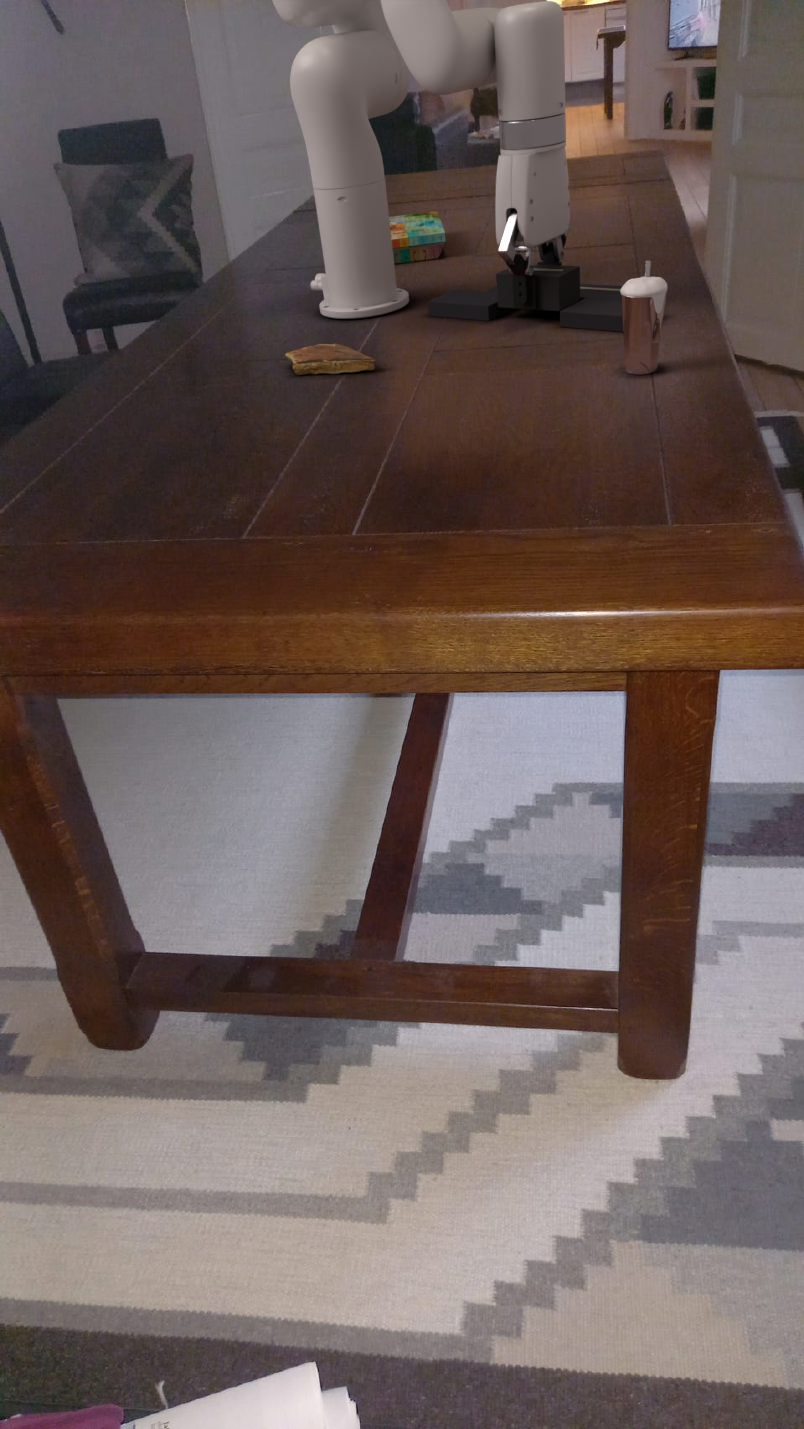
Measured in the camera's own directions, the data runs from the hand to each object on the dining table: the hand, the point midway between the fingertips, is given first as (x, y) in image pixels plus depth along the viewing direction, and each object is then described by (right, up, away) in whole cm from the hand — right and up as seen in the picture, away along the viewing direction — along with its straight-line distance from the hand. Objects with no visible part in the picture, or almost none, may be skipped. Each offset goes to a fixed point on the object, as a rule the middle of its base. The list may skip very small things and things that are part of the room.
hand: (538, 300), depth 123 cm
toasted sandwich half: (-25, -10, -6) cm, 27 cm away
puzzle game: (-16, +27, +44) cm, 53 cm away
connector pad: (0, 0, 0) cm, 0 cm away
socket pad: (+2, 0, +3) cm, 4 cm away
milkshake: (+8, -16, -19) cm, 26 cm away
